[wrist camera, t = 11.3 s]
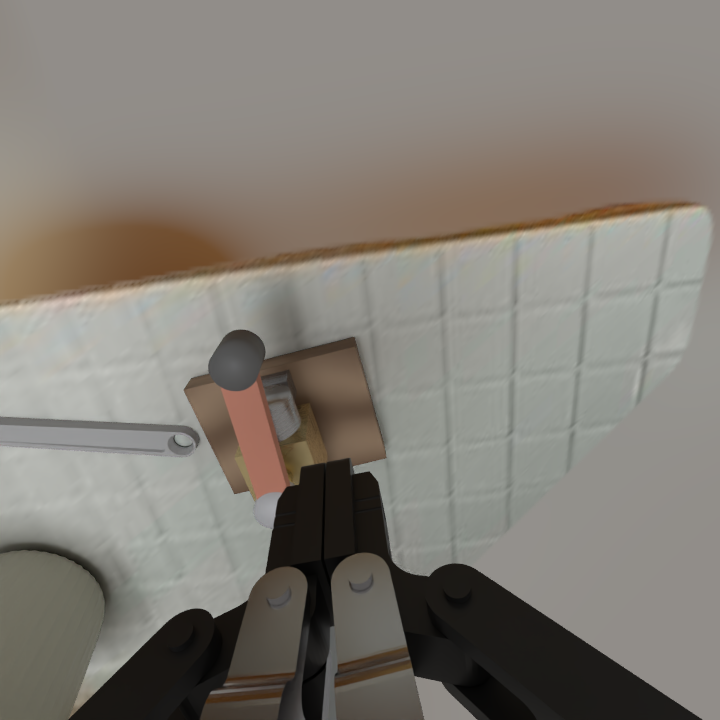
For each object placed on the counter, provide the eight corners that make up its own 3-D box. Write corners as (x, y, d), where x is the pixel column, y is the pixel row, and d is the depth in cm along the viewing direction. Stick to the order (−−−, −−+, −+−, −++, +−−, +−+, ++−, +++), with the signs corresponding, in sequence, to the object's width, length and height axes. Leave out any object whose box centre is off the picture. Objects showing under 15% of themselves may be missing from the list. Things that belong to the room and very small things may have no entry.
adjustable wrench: (201, 422, 38) (195, 433, 37) (198, 479, 41) (193, 492, 39) (-117, 383, 35) (-138, 394, 33) (-98, 447, 37) (-117, 460, 36)
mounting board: (384, 444, 39) (386, 458, 38) (239, 479, 40) (234, 494, 38) (354, 336, 35) (355, 346, 33) (191, 378, 36) (183, 390, 34)
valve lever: (261, 326, 25) (252, 344, 22) (305, 495, 30) (302, 525, 27) (213, 333, 25) (199, 353, 22) (265, 501, 30) (259, 531, 27)
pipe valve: (335, 465, 38) (335, 536, 31) (280, 478, 38) (268, 551, 31) (301, 366, 34) (292, 421, 26) (240, 381, 34) (214, 440, 27)
